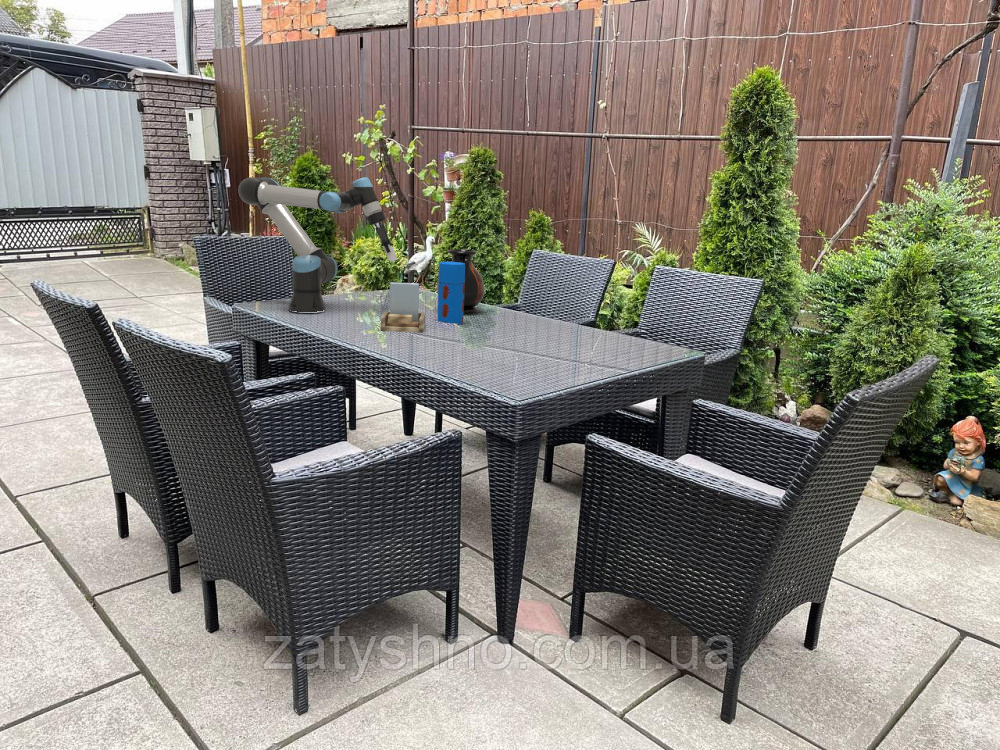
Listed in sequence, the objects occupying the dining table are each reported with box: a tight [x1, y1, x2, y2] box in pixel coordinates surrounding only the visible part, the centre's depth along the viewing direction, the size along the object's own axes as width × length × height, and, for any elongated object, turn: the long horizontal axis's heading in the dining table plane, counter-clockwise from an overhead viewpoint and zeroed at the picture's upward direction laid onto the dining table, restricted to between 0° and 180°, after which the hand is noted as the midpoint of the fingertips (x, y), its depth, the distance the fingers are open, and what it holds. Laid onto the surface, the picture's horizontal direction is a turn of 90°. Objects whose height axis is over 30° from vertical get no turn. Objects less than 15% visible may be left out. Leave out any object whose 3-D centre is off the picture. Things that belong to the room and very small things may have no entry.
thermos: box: [437, 261, 465, 326], centre depth 309 cm, size 11×11×25 cm
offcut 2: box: [387, 321, 419, 328], centre depth 288 cm, size 12×5×3 cm, turn 93°
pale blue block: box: [389, 281, 420, 322], centre depth 292 cm, size 11×4×17 cm, turn 93°
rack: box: [380, 310, 426, 333], centre depth 290 cm, size 16×15×6 cm
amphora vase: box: [436, 248, 485, 315], centre depth 336 cm, size 22×22×28 cm
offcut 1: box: [388, 314, 413, 324], centre depth 287 cm, size 9×5×3 cm, turn 93°
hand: (393, 260), depth 322 cm, fingers open, 13 cm apart
